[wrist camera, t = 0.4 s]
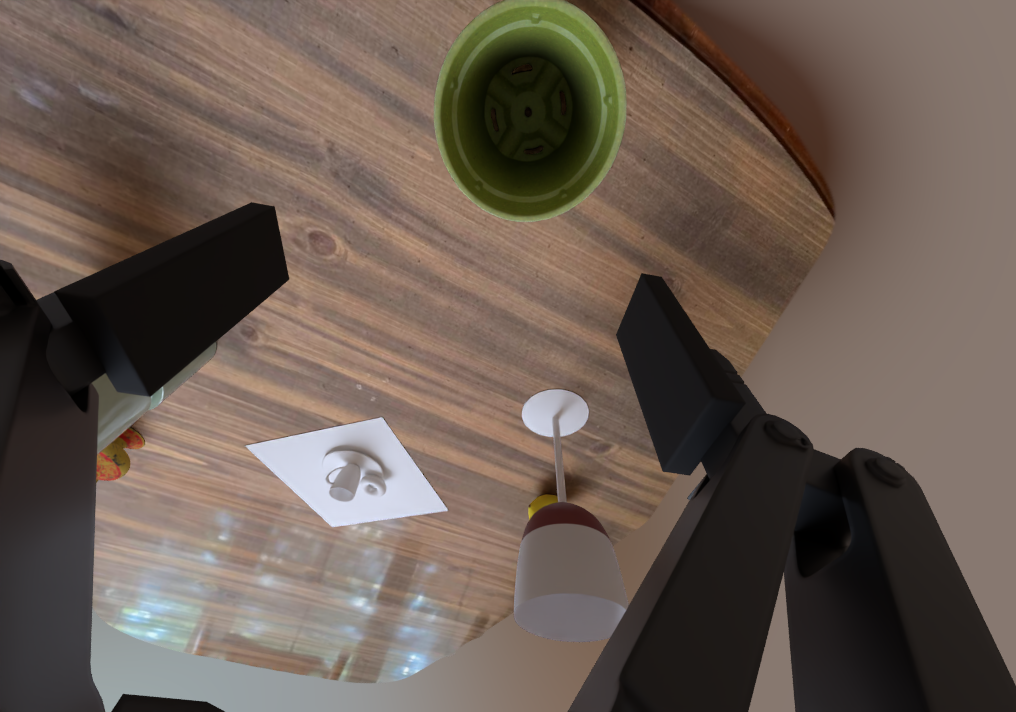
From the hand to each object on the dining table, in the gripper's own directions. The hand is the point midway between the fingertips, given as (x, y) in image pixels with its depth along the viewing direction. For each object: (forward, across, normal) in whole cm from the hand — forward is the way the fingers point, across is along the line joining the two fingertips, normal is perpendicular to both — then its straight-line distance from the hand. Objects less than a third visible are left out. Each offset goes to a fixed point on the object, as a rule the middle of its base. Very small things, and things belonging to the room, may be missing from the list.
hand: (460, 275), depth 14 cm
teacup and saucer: (+17, -14, -41) cm, 47 cm away
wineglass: (+17, +10, -23) cm, 31 cm away
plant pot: (+18, +2, +4) cm, 18 cm away
